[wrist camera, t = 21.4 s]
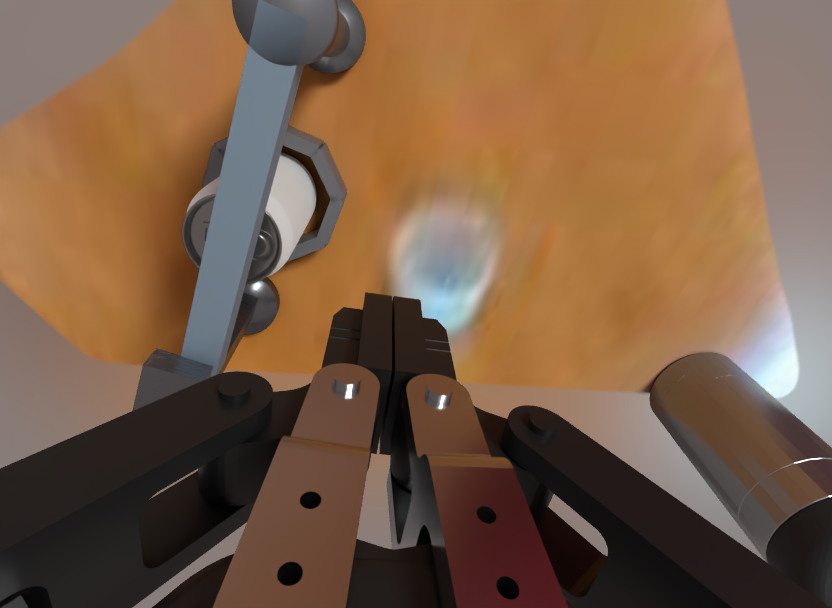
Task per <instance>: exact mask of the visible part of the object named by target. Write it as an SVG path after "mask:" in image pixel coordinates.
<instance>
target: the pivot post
mask: <svg viewBox="0 0 832 608" xmlns="http://www.w3.org/2000/svg"><path fill="white" fill-rule="evenodd" d="M336 1H337V5H338V11H339V27H338V32H337V36H336V39H335V41H334V43H333V45H332V47H331V48H330V50H329V51H328V52H327V53H326V54H325V55H324V56H323V57H322V58H321V59H319V60H318V61H316V62H314V63H311V64H308V65H309V66H310V67H312V68H314V69H315V70H318V71H320V72H324V73H338V72H342V71H345V70H347V69H349V68H350V67H352V66H353V65H354V64H355V63H356V62H357V61H358V59H359V58H360V56H361V54H362V52H363V49H364V46H365V40H366V31H365V25H364V21H363V18H362V16H361V14H360V12H359V10H358V8H357V7H356V6H355V4H354V3H353V2H352V1H351V0H336Z"/></svg>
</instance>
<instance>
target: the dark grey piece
mask: <svg viewBox="0 0 832 608" xmlns="http://www.w3.org/2000/svg"><path fill="white" fill-rule="evenodd" d="M279 304H280V298H279V294H278V291H277V289H276V287H275V285H274V284H273V283H272V281H271V280H270V279H269V278H268V277H266V278H264V279H263V280H261V281H259V282H256V283H253V284H249V285H245V288H244V292H243V296H242V300H241V303H240V307H239V311H238V315H237V318H236V322H235V326H234V329H233V333H232V337H231V341H230V344H229V348H228V352H227V356H226V359H225V363H224V364H223V366H222V368H221V370H220V372H219V373H218V374H221V373H223V372H224V370H225V368H226V366H227V364H228V363H229V361H230V359H231V357H232V355H233V353H234V352H235V350H236V348H237V346H238V344H239V342H240V341H241V339H242V337H243V335H244V334H254V333H258V332H260V331H262V330H264V329H266V328H267V327H268V326H269V325H270V324H271V323H272V322H273V320H274V318H275V316H276V314H277V312H278V309H279ZM212 369H213V366H211V365H208V364H205V363H201V362H198V361H195V360H192V359H189V358H185V357H182V356H179V355H176V354H172V353H169V352H166V351H163V350H160V349H156V350H155V351H154V352H153V353H152V354H151V356H150V357H149V358H148V359H147V361H146V362H145V363H144V364H143V368H142V372H141V376H140V381H139V385H138V389H137V394H136V398H135V402H134V407H133V411H134V410H136V409H139V408H141V407H143V406H145V405H148V404H150V403H152V402H155V401H157V400H159V399H162V398H164V397H166V396H168V395H171V394H173V393H175V392H178V391H180V390H182V389H185V388H187V387H189V386H191V385H194V384H196V383H198V382H201V381H203V380H205V379H208V378H210V376H211V373H212Z"/></svg>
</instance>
